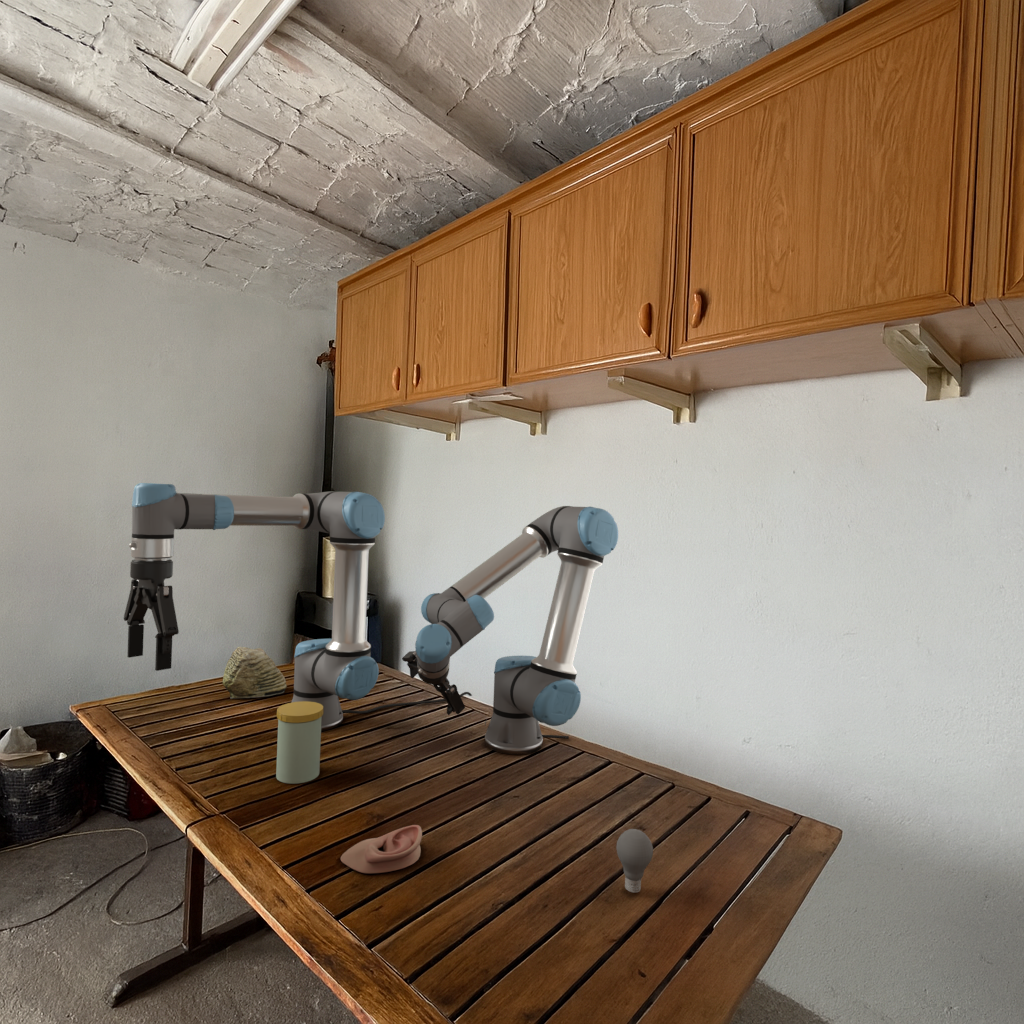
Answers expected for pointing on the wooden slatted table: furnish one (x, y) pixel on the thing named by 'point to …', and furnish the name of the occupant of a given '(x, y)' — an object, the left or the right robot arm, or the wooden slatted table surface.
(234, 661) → the fossil
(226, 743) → the wooden slatted table surface
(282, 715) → the lid
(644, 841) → the light bulb
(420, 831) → the anatomical model
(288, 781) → the jar
